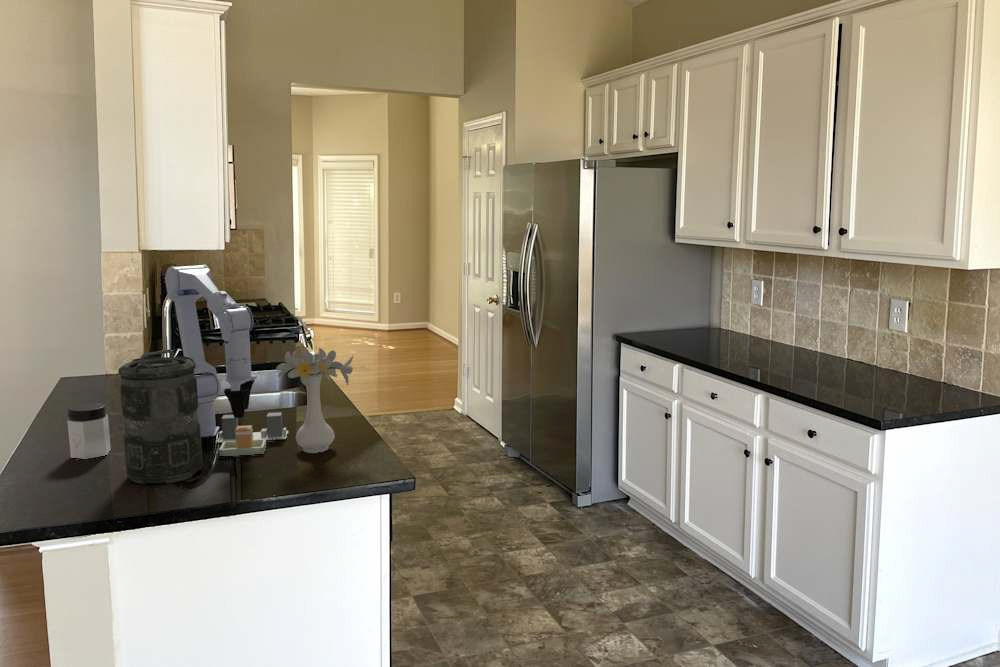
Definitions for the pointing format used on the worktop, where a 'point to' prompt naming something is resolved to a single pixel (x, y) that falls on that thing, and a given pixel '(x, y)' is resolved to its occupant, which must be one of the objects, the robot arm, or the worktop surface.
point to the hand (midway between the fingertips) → (241, 413)
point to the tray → (230, 448)
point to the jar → (88, 430)
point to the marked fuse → (244, 436)
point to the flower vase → (314, 394)
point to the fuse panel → (270, 433)
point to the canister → (160, 418)
